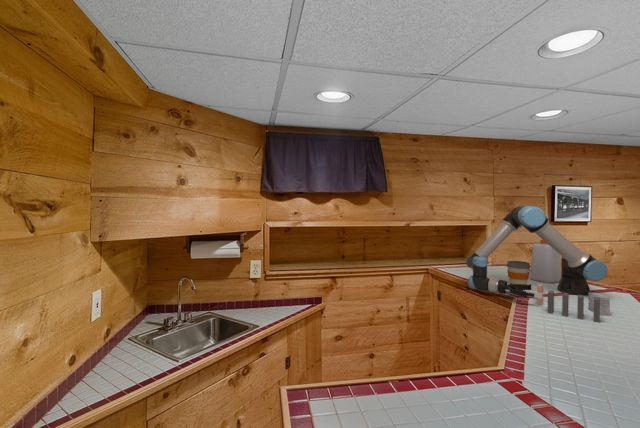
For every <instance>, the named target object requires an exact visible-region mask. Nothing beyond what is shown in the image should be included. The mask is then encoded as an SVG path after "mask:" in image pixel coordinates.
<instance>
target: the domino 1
mask: <svg viewBox="0 0 640 428" xmlns="http://www.w3.org/2000/svg"><path fill="white" fill-rule="evenodd" d="M554 311H555V291H554V290H549V289H548V292H547V314H549V315H553V314H554Z"/></svg>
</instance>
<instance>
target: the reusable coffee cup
mask: <svg viewBox="0 0 640 428" xmlns="http://www.w3.org/2000/svg"><path fill="white" fill-rule="evenodd" d="M506 266H507V278H508V280H509V284H510V283H512V284H526V285H528V280H529V279H530V269H531V263H530V262H527V261H520V260H509V261H507V262H506Z"/></svg>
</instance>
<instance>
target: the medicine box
mask: <svg viewBox="0 0 640 428" xmlns="http://www.w3.org/2000/svg"><path fill="white" fill-rule="evenodd" d="M594 297H598V298H600V316H610V315H611V306H610V305H611V298H610V296H607V295H604V294H602V293H599V292H590V293H589V295H588V310H589V311H591V312H593V313H594Z"/></svg>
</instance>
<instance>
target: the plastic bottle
mask: <svg viewBox="0 0 640 428" xmlns="http://www.w3.org/2000/svg"><path fill="white" fill-rule="evenodd" d="M531 251H532V252H531V260H530V269H529V272H530V273H529V279H530V280H532V281H535V282H540V283H543V284H544V283H545V284H555V283H556V284H557V283H559V282H560V279H561V255H560V254H559V253H558V252H556V251H555V250H554V249H553V248H552V247H551V246H549V245H548V244H547V243H546V242H545V241H544V240H543V239H540V241H539V243H533V245H532V250H531Z"/></svg>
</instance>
